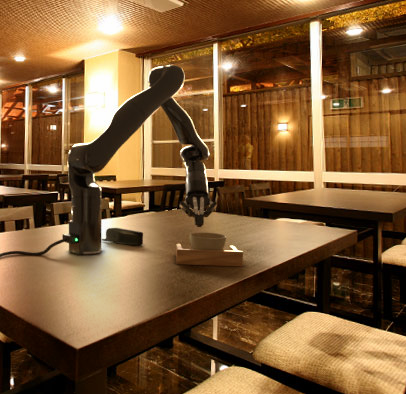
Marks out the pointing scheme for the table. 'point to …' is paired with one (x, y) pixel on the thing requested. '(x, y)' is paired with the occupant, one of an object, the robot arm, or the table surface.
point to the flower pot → (207, 241)
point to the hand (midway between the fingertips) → (199, 225)
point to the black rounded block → (124, 236)
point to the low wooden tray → (209, 256)
